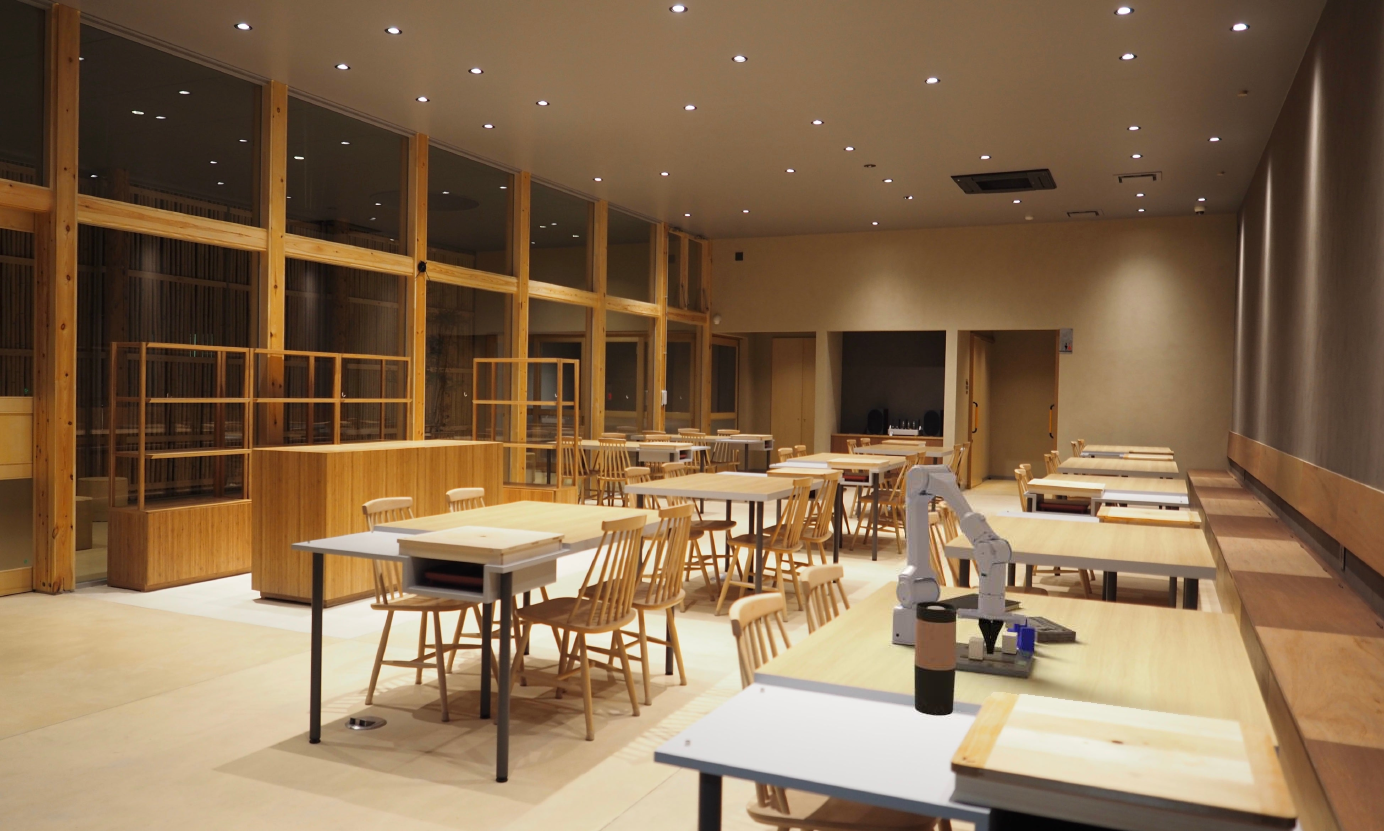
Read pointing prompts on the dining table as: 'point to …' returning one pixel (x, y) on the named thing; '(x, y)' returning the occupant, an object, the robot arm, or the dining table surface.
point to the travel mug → (935, 658)
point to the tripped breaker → (976, 648)
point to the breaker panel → (995, 662)
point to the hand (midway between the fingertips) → (990, 653)
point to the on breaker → (1009, 642)
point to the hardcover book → (975, 602)
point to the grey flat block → (1048, 630)
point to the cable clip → (1024, 636)
